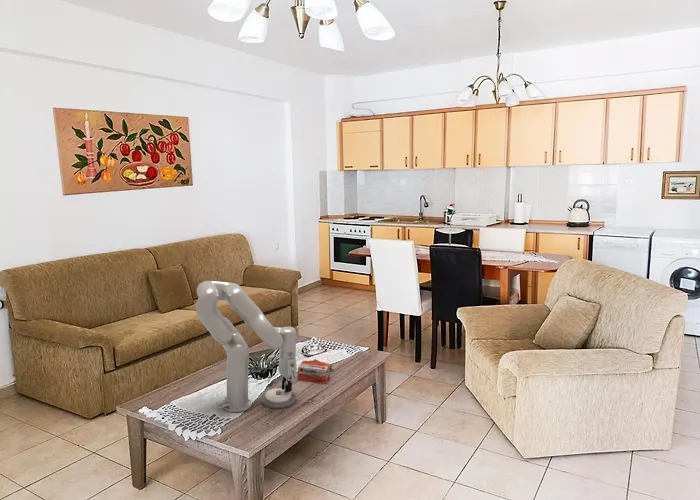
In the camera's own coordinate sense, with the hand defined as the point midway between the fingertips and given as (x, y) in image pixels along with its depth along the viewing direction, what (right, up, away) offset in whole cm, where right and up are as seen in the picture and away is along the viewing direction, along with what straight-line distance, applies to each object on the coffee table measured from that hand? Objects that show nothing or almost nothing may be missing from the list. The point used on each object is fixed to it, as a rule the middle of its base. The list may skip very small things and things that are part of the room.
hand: (286, 389), depth 242 cm
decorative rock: (+13, +1, +36) cm, 38 cm away
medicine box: (+11, -1, +23) cm, 26 cm away
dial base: (-4, -5, -1) cm, 6 cm away
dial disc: (-3, -3, -1) cm, 4 cm away
